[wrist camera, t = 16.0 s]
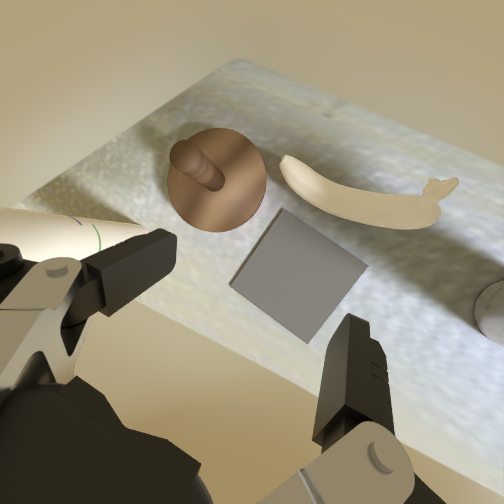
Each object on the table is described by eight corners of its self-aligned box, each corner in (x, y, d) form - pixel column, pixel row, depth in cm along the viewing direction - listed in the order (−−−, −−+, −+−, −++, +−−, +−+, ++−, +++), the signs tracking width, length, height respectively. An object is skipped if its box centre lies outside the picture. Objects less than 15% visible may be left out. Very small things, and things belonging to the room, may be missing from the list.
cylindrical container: (128, 216, 40) (-127, 172, 16) (159, 239, 40) (-61, 231, 15) (108, 248, 41) (-162, 256, 17) (138, 272, 40) (-101, 316, 16)
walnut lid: (287, 166, 30) (284, 129, 21) (229, 251, 32) (201, 255, 22) (205, 112, 32) (166, 55, 22) (154, 197, 34) (97, 178, 24)
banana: (284, 165, 35) (278, 111, 21) (408, 207, 33) (500, 178, 18) (272, 195, 36) (259, 162, 22) (394, 239, 33) (472, 235, 19)
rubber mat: (367, 265, 34) (368, 265, 33) (307, 342, 36) (307, 344, 35) (283, 209, 36) (283, 208, 35) (230, 285, 38) (230, 286, 37)
